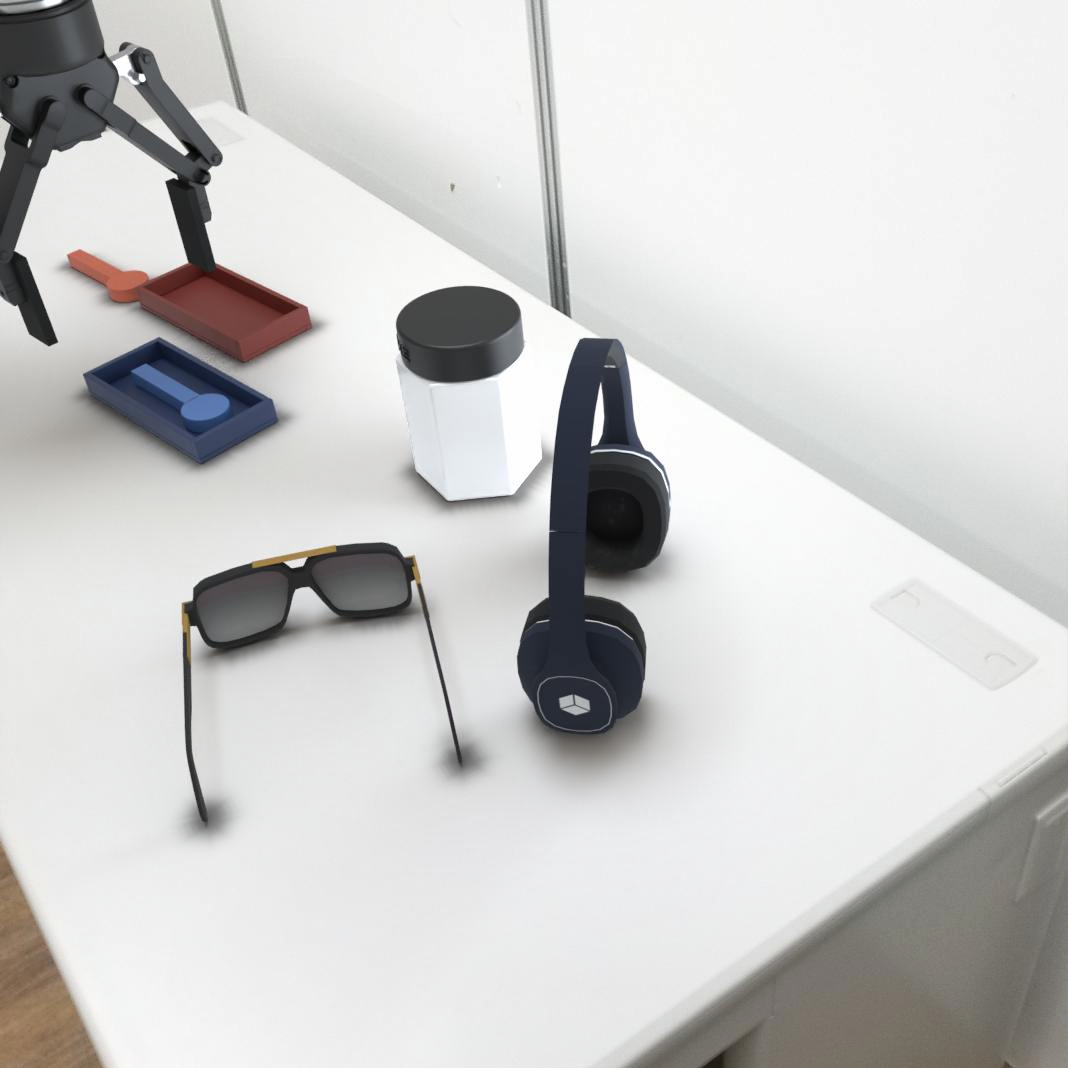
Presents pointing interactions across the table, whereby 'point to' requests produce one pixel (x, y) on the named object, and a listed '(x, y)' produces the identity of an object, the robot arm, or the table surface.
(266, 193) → the table surface
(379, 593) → the sunglasses
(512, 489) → the jar
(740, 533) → the table surface
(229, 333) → the red tray
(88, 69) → the robot arm
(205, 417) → the blue spoon
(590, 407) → the headphones
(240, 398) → the blue tray
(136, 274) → the red spoon
